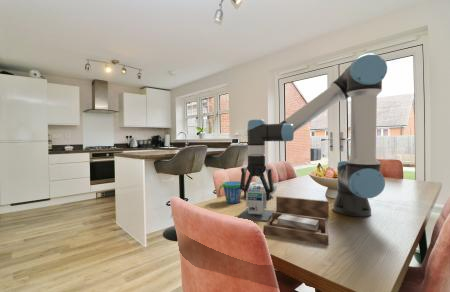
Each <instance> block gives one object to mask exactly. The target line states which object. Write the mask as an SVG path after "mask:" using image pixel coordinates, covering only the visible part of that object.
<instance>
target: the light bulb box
mask: <svg viewBox="0 0 450 292" xmlns="http://www.w3.org/2000/svg"><path fill="white" fill-rule="evenodd" d="M264 193H265V189H264V186H263V185H260V184H250V186H249V188H248V207H247V208H248V213H249V214H264V210H265V209H264Z"/></svg>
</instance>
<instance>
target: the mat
mask: <svg viewBox="0 0 450 292" xmlns="http://www.w3.org/2000/svg"><path fill="white" fill-rule="evenodd" d="M272 212H276V210H270V209H264V214H249V213H248V207H247V208H245V209H244V210H243V211H242V212H241V213H240V214H238V216H237V218H238V217H240V218H239V219H244V218H245V220H251V221H260V222H266V223H268V221H269V220H270V219H271V217H272Z"/></svg>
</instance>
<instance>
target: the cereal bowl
mask: <svg viewBox="0 0 450 292" xmlns="http://www.w3.org/2000/svg"><path fill="white" fill-rule="evenodd" d="M266 182H267V185H268V187H269V181H266ZM250 184H260V185H263V184H262V181H251V183H250ZM273 186H274V191H273V192H271V193H270V196H272V195H274V194H275V193H276V191H277V189H278V188H277V187H278V185H277V183H276V182H273ZM269 189H270V188H269ZM265 192H266V191H265Z"/></svg>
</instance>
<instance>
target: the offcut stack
mask: <svg viewBox="0 0 450 292" xmlns="http://www.w3.org/2000/svg"><path fill="white" fill-rule="evenodd" d="M272 226H276V227H283V228H290V229H296V230H303V231H310V232H317V233H321V230H318V226H319V220H314V219H308V218H302V217H297V216H291V215H285V214H282V215H281V216H279V217H278V218H276V219H275V220H274V221H273V223H272Z"/></svg>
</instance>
